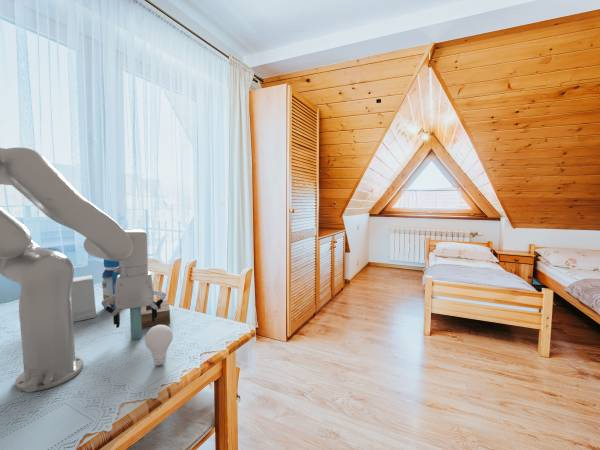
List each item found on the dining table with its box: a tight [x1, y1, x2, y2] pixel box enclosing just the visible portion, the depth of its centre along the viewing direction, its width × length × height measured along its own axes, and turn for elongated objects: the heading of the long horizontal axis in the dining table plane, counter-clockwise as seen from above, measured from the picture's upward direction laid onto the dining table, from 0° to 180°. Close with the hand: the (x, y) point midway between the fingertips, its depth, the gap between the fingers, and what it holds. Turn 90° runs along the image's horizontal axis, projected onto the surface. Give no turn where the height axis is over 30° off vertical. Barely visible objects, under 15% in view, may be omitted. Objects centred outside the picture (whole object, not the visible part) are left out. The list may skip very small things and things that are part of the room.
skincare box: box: [72, 274, 97, 323], centre depth 101 cm, size 8×6×15 cm
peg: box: [129, 307, 143, 341], centre depth 89 cm, size 3×3×12 cm
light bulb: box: [144, 324, 174, 367], centre depth 75 cm, size 7×7×11 cm
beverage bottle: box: [101, 259, 121, 311], centre depth 111 cm, size 8×8×20 cm
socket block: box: [141, 300, 171, 330], centre depth 101 cm, size 10×10×5 cm
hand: (136, 322), depth 89 cm, fingers open, 9 cm apart
